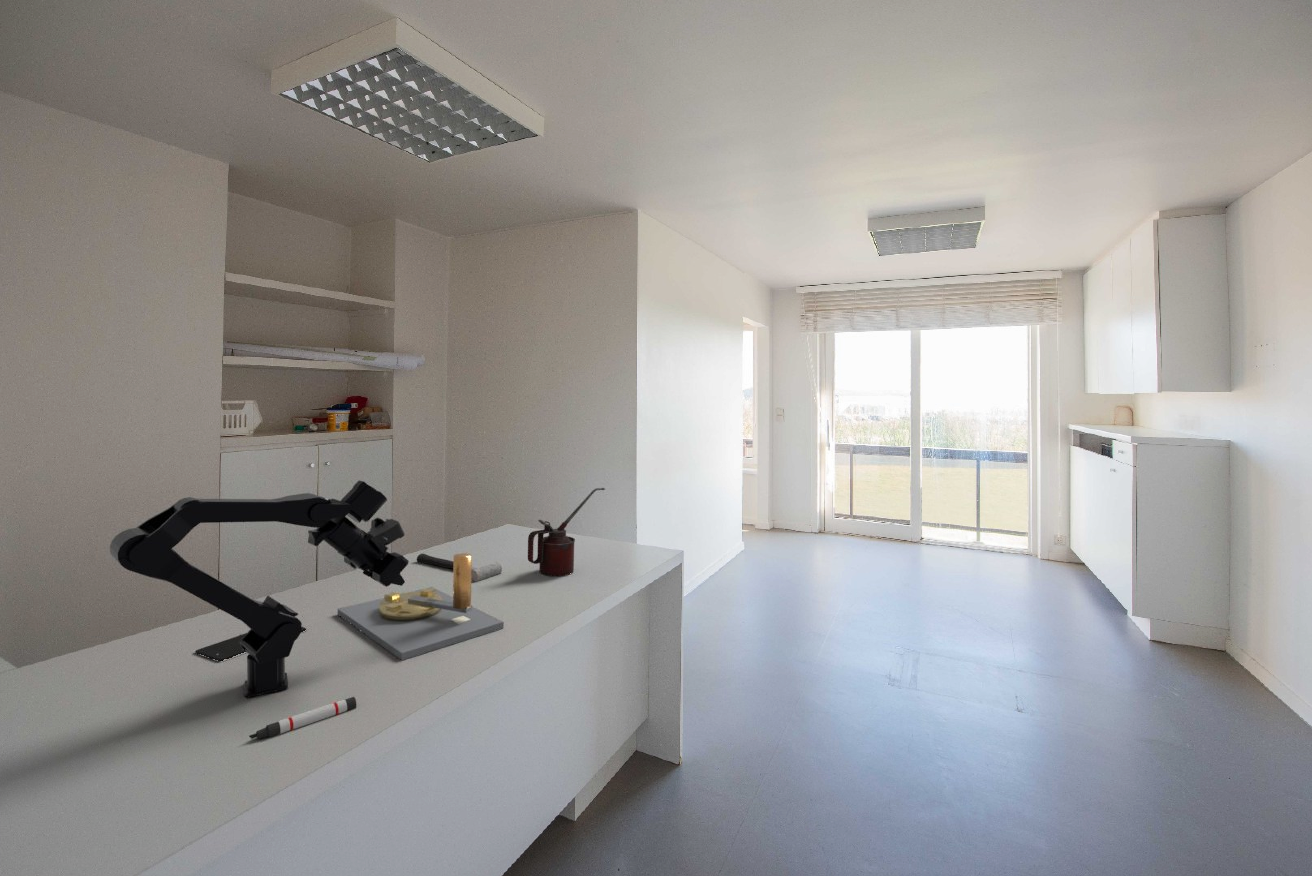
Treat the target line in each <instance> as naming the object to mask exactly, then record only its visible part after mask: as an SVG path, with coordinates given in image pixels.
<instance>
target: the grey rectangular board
mask: <svg viewBox="0 0 1312 876" xmlns="http://www.w3.org/2000/svg"><path fill="white" fill-rule="evenodd" d="M426 588H427V587H425V588H422V589H417V590H413V591H411V592H421V591H422V590H424V589H426ZM428 588H430V589H435V594H438V595H440V596H441V597H442V601H448V602H453V595H450V594H448V593H445V592H444V591H441V590H439V589H437V588H435V587H433V586H430V587H428ZM382 600H384V597H383V598H378V599H373V600H370V601H365V602H361V603H356V604H353V605H347V606H343V607H340V608H337V615H338V617H340V616H341V617H342V618H341V617H340V618H341V619H343V620H344V619H345V620H344V621H346V620H347V621H348V622H347V621H346V622H347V623H349V622H350V623H351V624H353V625H354V626H355V627H354V626H353V625H352V626H353V627H354V628H355V629H357V630H358V629H359V631H360V630H361V631H362V632H361V631H360V632H361V633H362V634H364V633H365V634H364V635H365V636H367V637H368V638H370V639H371V640H372V641H374V642H375V643H377V644H378V645H380V646H381V647H383V649H386V650H387V651H389V652H390V653H391V654H393V655H394V656H395V657H396V658H398V659H400V660H401V661H404V660H408V659H410V658H414V657H417V656H420V655H424V654H427V653H429V652H433V651H436V650H439V649H442V648H445V647H449V646H451V645H454V644H458V643H460V642H465V641H467V640H470V639H473V638H474V639H475V638H476V637H480V636H482V635H486V633H487V634H489V633H493V632H495V630H496V631H499V630H501V629H505V628H504V627H505V625H504V623H505V622H504V621H503V620H501V619H498V618H497V617H495V616H493V615H491V614H488V613H486V612H484V611H483V610H480V609H479V608H477V607H474V606H472V610H471V611H469V612H467V613H462V612H456V611H451V610H445V609H441V610H440V611H439V612H438V613H436V614H434V615H431V616H428V617H425V618H421V619H415V620H403V621H399V620H389V619H386V618H383V617H381V616H380V614H379V604H380V602H381V601H382ZM350 623H349V624H350ZM351 624H350V625H351ZM498 629H499V630H498Z"/></svg>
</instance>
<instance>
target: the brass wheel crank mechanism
mask: <svg viewBox="0 0 1312 876" xmlns="http://www.w3.org/2000/svg"><path fill="white" fill-rule="evenodd" d="M472 558H473V557H472V554H471V553H467V552H466V553H464V552H462V553H455V554H454V555H453V568H452V570H453V571H452V573H453V576H452V577H453V584H452V592H453V593H452V597H453V602H448V601H442V597H441V596H440V595H438V594H435V589H436V588H435V589H430V588H429V587H425V588H426V589H425V588H423V589H424V590H422V591H421V592H412V591H409V592H403V593H400V592H396V591H395V592H394V591H391V592H388V593H386V594H384V597H383V598H384V600H382V601H381V602H380V604H379V614H380V616H381V617H383V618H386V619H389V620H399V621H403V620H415V619H421V618H425V617H428V616H431V615H434V614H436V613H438V612H439V611H440V610H441V609H445V610H451V611H456V612H462V613H467V612H469V611H471V610H472V607H473V605H472V580H471V567H473V566H472V565H473V564H472V563H473V562H472Z"/></svg>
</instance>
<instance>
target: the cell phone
mask: <svg viewBox="0 0 1312 876" xmlns="http://www.w3.org/2000/svg"><path fill="white" fill-rule="evenodd" d="M305 630H306V631H307V628H306V627H303V626H302V629H301V632H303V631H305ZM306 631H305V632H306ZM247 633H248V632H245V633H243V634H240V635H237V636H234V637H231V638H228V639H225V640H222V641H218V642H216V643H213V644H210V645H208V646H204V647H201V648H199V649H196V650H195V652H196V653H197V654H196V653H195V654H196V655H198V654H201V655H204V656H206V657H209V658H210V659H209V658H208V659H209V660H211V659H215V660H218V661H223V660H224V659H229V658H232V657H233V656H236V655H238V654H241V653H244V652H246V651H244V650H243V648H242V646H241V645H240V640H241V639H242V638H243V637H244V636H245V635H246V634H247ZM303 633H304V632H303ZM206 657H205V658H206ZM232 659H233V658H232ZM229 660H230V659H229ZM223 662H224V661H223Z"/></svg>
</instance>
